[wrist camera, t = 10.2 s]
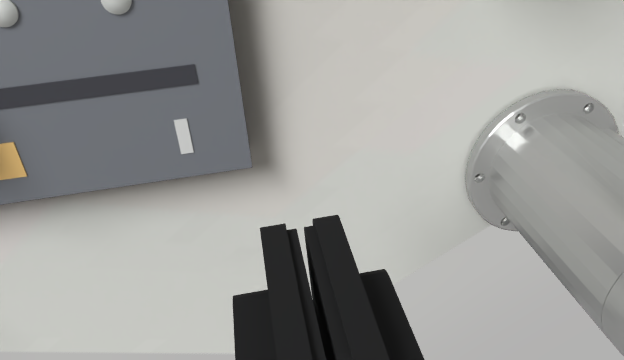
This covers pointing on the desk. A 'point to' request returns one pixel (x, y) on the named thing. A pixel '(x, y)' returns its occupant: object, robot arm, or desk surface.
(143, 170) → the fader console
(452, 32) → the desk surface
